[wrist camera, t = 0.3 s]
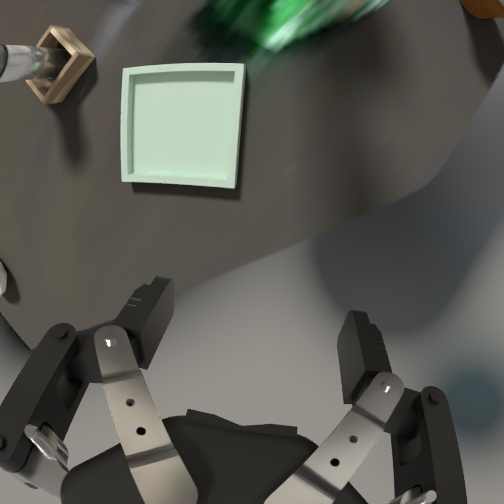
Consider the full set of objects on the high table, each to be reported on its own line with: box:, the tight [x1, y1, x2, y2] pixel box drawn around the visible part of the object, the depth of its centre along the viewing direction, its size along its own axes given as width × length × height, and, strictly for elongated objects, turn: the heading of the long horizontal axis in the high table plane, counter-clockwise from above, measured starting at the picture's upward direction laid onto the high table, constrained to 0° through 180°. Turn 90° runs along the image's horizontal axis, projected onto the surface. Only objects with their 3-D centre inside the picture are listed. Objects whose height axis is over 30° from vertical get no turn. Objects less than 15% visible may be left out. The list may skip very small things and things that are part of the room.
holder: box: [25, 25, 95, 104], centre depth 30 cm, size 9×9×4 cm
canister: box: [0, 44, 72, 82], centre depth 25 cm, size 5×5×16 cm
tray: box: [121, 63, 246, 188], centre depth 35 cm, size 16×16×2 cm
